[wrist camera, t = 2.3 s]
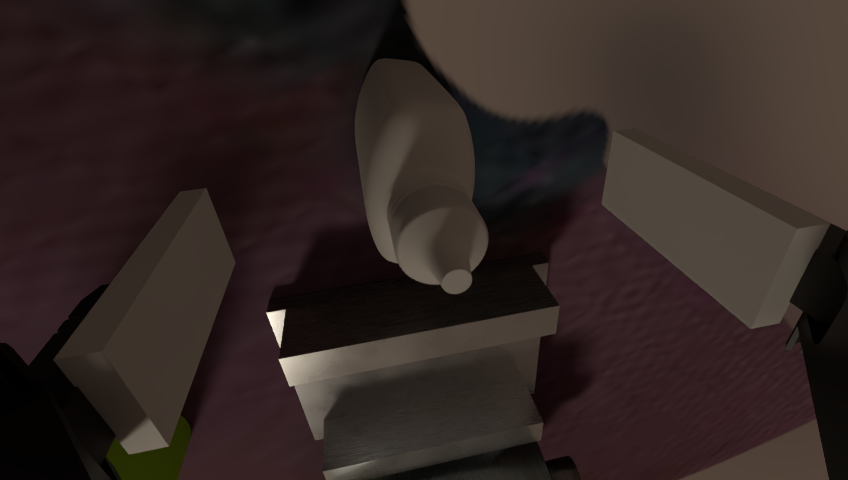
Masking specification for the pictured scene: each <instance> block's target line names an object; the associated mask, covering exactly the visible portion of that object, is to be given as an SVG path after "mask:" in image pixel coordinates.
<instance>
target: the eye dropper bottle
mask: <svg viewBox="0 0 848 480" xmlns="http://www.w3.org/2000/svg"><path fill="white" fill-rule="evenodd" d="M355 140H356V148H357V155H358V162H359V169H360V176H361V183H362V190H363V196H364V203H365V209H366V215H367V220H368V224H369V228H370V231H371V234H372V237H373V240H374V242H375V245H376V247H377V249H378V250H379V252H380V254H381V255H382V256H383V257H384V258H385V259H386V260H388V261H391V262H394V263H398V264H399V266H400V268H402V271H404V272H405V274H408V276H409V277H411V278H412V279H415V281H419V282H422V283H426V284H432V285H434V284H436V285H438V284H440V285H441V286H442V288H443V289H444V290H445V291H446V292H447V293H450V294H459V293H462V292H464V291H465V290H467V289H468V288H469V287H470V285H471V283H472V274H471V272H472V271H473V270H474V269H475V268H476V267H477V266H478V264H479V263H480V262H481V260H482V259H483V257H484V255H485V252H486V251H487V247H488V245H487V244H488V242H489V241H488V239H489V237H488V234H489V233H488V232H487V231H488V229H487V227H486V224H485V222H484V220H483V218H482V217H481V215H480V214H479V212H478V210H477V209H476V207H475V206H474V204H473V202H472V196H473V190H474V179H475V162H474V150H473V143H472V138H471V133H470V129H469V125H468V122H467V119H466V116H465V114H464V112H463V110H462V109H461V107H460V106H459V105H458V103H457V102H456V101H455V100H454V98H453V97H452V96H451V95H450V94H449V93H448V92H447V91H446V90H445V89H444V87H443V86H442V85H441V84H440V83H439V82H438V81H437V80H436V79H435V78H434V77H433V76H432V75H431V74H430V73H429V72H428V71H427V70H426V69H425V68H424V67H423V66H422V65H421V64H419V63H417V62H414V61H408V60H399V59H388V58H383V59H378V60H377V61H375V62H374V63H373V64H372V66H371V67H370V69H369V71H368V73H367V75H366V77H365V80H364V82H363V85H362V88H361V91H360V94H359V98H358V102H357V107H356V115H355Z"/></svg>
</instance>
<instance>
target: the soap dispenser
mask: <svg viewBox="0 0 848 480" xmlns="http://www.w3.org/2000/svg"><path fill="white" fill-rule="evenodd" d="M190 437H191V428H190V425H189V423H188V422H187V420H186V419H185V418H184V417H183V416H181V415H180V417H179V420H178V423H177V426H176V428H175V431H174V434H173V437H172V439H171V442H170V445H169V447H164V448H159V449H154V450H149V451H144V452H139V453H134V454H128V453H127V452H126V450H125V449H124V448H123V447H122V445H121V444H120V443H119V442H118V440H117V439H116V438H114V440H113V443H112V445H111V447H110V449H109V451H108V453H107V455H106V457H107V459H108V460H109V461H110V462H111V463H112V464H113V466H114V467H115V469H116V471H117V473H118V474H119V476H120V478H121V480H178V477H179V474H180V470H181V467H182V464H183V460H184V457H185V454H186V450H187V447H188V444H189V441H190Z"/></svg>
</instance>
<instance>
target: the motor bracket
mask: <svg viewBox="0 0 848 480" xmlns="http://www.w3.org/2000/svg"><path fill="white" fill-rule="evenodd" d="M548 264H549V263H548V261H547V260H546V259H545V257H544V256H543V255H542V253H540V254H534V255H528V256H523V257H517V258H511V259H505V260H500V261H494V262H488V263H483V264H478V266H477V267H476V268H475V269H474V270H473V271H472V272H471V274H472V283H471V285H470V287H469V288H468V289H467V290H465V291H464V292H462V293H459V294H450V293H447V292H446V291H445V290H444V289H443V288H442V286H441V285H440V284H438V285H436V284H434V285H432V284H426V283H422V282H419V281H415V279H412V278H411V277H409V276H408V277H403V278H397V279H391V280H386V281H380V282H374V283H368V284H363V285H357V286H351V287H346V288H340V289H334V290H328V291H323V292H317V293H311V294H306V295H300V296H294V297H288V298H283V299H277V300H271V301H269V303H268V309H267V315H268V318H269V320H270V323H271V326H272V328H273V331H274V334H275V336H276V339H277V341H278V344H279V347H280V355H279V361H280V364H281V366H282V369H283V371H284V374H285V376H286V379H287V381H288V384H289V386H295V389H296V391H297V394H298V397H299V399H300V402H301V404H302V407H303V410H304V412H305V415H306V417H307V420H308V423H309V425H310V428H311V431H312V433H313V436H314V438H315V440H319V439H323V473H324V476H325V478H326V480H581V479H580V476H579V472H578V470H577V467H576V465H575V463H574V462H573V460H572V459H571V457H569V456H565V457H560V458H556V459H552V460H548V461H545V460H544V457H543V455H542V453H541V450H540V448H539V446H538V443H537V441H540V440H541V437H542V430H543V420H542V418H541V416H540V414H539V412H538V410H537V408H536V405H535V403H534V401H533V399H532V397H531V395H530V394H533V393H534V390H535V381H536V372H537V363H538V354H539V345H540V337H541V336H546V335H551V334H556V329H557V321H558V314H559V307H560V305H559V304H558V302H557V301H556V300H555V298H554V297H553V295H552V294H551V292H550V291H549V289H548V288H547V286H546V282H547V273H548Z"/></svg>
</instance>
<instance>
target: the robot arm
mask: <svg viewBox="0 0 848 480" xmlns="http://www.w3.org/2000/svg"><path fill="white" fill-rule="evenodd" d="M602 205H603V206H604V207H606V208H607V209H608V210H609V211H610V212H612V213H613V214H614V215H615V216H616V217H617V218H619V219H620V220H621V221H622V222H623V223H625V224H626V225H627V226H628V227H629V228H631V229H632V230H633V231H634V232H635V233H637V234H638V235H639V236H640V237H641V238H643V239H644V240H645V241H646V242H647V243H649V244H650V245H651V246H652V247H653V248H655V249H656V250H657V251H658V252H659V253H661V254H662V255H663V256H664V257H665V258H667V259H668V260H669V261H670V262H671V263H673V264H674V265H675V266H676V267H677V268H679V269H680V270H681V271H682V272H683V273H685V274H686V275H687V276H688V277H689V278H690V279H692V280H693V281H694V282H695V283H696V284H698V285H699V286H700V287H701V288H702V289H704V290H705V291H706V292H707V293H708V294H710V295H711V296H712V297H713V298H714V299H716V300H717V301H718V302H719V303H720V304H722V305H723V306H724V307H725V308H726V309H728V310H729V311H730V312H731V313H732V314H734V315H735V316H736V317H737V318H738V319H740V320H741V321H742V322H743V323H744V324H746V325H747V326H748V327H749V328H750V329H753V328H758V327H763V326H768V325H773V324H777V323H780V321H781V319H782V318H783V316H784V314H785V312H786V310H787V308H788V306H789V304H790V302H791V303H792V304H794V305H795V306H797V307H798V308H799V309H801V310H802V311H803V313H802V315H801V317H800V319H799V320H798V322H797V324H796V326H795V328H794V330H793V331H792V333H791V335H790V337H789V339H788V341H787V342H786V346H785V349H786V350H790V351H791V349H792V347H793V346H794V344H796V343H799V342H801V346H802V348H801V350H800V352H799V353H801V354H803V355H804V360H805V365H806V370H807V375H808V379H809V384H810V389H811V394H812V399H813V404H814V408H815V413H816V418H817V423H818V428H819V432H820V437H821V442H822V447H823V452H824V457H825V462H826V467H827V471H828V476H829V480H848V230H847V231H845V230H843V229H841V228H839V227H837V226H835V225H833V224H831V223H830V222H827V221H826V220H823V219H821V218H819V217H817V216H815V215H813V214H811V213H809V212H807V211H805V210H803V209H801V208H799V207H797V206H794V205H793V204H791V203H788V202H786V201H784V200H782V199H780V198H778V197H776V196H774V195H772V194H770V193H768V192H766V191H764V190H762V189H760V188H758V187H755V186H754V185H751V184H749V183H747V182H745V181H743V180H741V179H739V178H737V177H735V176H733V175H731V174H729V173H727V172H725V171H723V170H720V169H719V168H716V167H714V166H712V165H710V164H708V163H706V162H704V161H702V160H700V159H698V158H696V157H694V156H692V155H690V154H688V153H686V152H684V151H682V150H679V149H677V148H675V147H673V146H671V145H669V144H667V143H665V142H663V141H661V140H659V139H657V138H654V137H653V136H651V135H649V134H647V133H644V132H642V131H640V130H638V129H636V128H631V129H624V130H617V131H614V133H613V139H612V145H611V151H610V157H609V163H608V168H607V174H606V180H605V186H604V192H603V198H602ZM234 265H235V260H234V257H233V255H232V252H231V250H230V247H229V245H228V242H227V240H226V237H225V234H224V232H223V229H222V227H221V224H220V222H219V219H218V217H217V214H216V211H215V209H214V206H213V204H212V201H211V199H210V196H209V194H208V191H207V189H206V188H203V189H195V190H188V191H181V192H179V193H178V195H177V196H176V197H175V199H174V200H173V201H172V203H171V204H170V205H169V207H168V208H167V209H166V211H165V212H164V213H163V215H162V216H161V217H160V219H159V220H158V221H157V222H156V224H155V225H154V226H153V228H152V229H151V230H150V232H149V233H148V234H147V236H146V237H145V238H144V240H143V241H142V242H141V244H140V245H139V246H138V248H137V249H136V250H135V252H134V253H133V254H132V256H131V257H130V258H129V260H128V261H127V262H126V264H125V265H124V266H123V268H122V269H121V270H120V272H119V273H118V274H117V276H116V277H115V278H114V280H113V281H112V282H111V284H106V285H101V286H100V287H99V288H97V289H96V290H95V291H93V292H92V293H91V294H89V295H88V296H87V297H85V298H84V299H83V300H81V301H80V303H79V304H78V305H77V306H76V308H75V309H74V310H73V311H72V313H71V314H70V315H69V316H68V318H69V319H68V320H65V321H64V323H63V324H62V325H61V326H60V328H59V329H58V330H57V331H58V333H56V334H54V335H53V336H52V337H51V339H50V340H49V341H48V342H47V344H46V345H45V346H44V347H43V349H42V350H41V351H40V352H39V354H38V355H37V356H36V357H35V359H34V360H33V361H32V362H31V364H30V365H29V366H28V365H27V364H26V363H25V362H24V361H23V359H22V358H21V357H20V356H19V355H18V354H17V352H16V351H15V350H14V349H13V348H12V347H11V346H9V345H8V344H6V343H0V480H121V478H120V476H119V474H118V473H117V471H116V469H115V467H114V466H113V464H112V463H111V462H110V461H109V460H108V459H107V457H106V455H107V453H108V451H109V449H110V447H111V445H112V443H113V440H114V438H116V439H117V440H118V442H119V443H120V444H121V445H122V447H123V448H124V449H125V450H126V452H127V453H128V454H134V453H139V452H144V451H149V450H154V449H159V448H164V447H169V445H170V442H171V439H172V437H173V434H174V431H175V428H176V426H177V423H178V420H179V417H180V414H181V412H182V409H183V406H184V403H185V401H186V398H187V395H188V392H189V390H190V387H191V384H192V381H193V379H194V376H195V373H196V370H197V368H198V365H199V362H200V359H201V357H202V354H203V351H204V348H205V345H206V343H207V340H208V337H209V334H210V332H211V329H212V326H213V323H214V321H215V318H216V315H217V312H218V310H219V307H220V304H221V301H222V299H223V296H224V293H225V290H226V287H227V285H228V282H229V279H230V276H231V274H232V271H233V268H234Z"/></svg>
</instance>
